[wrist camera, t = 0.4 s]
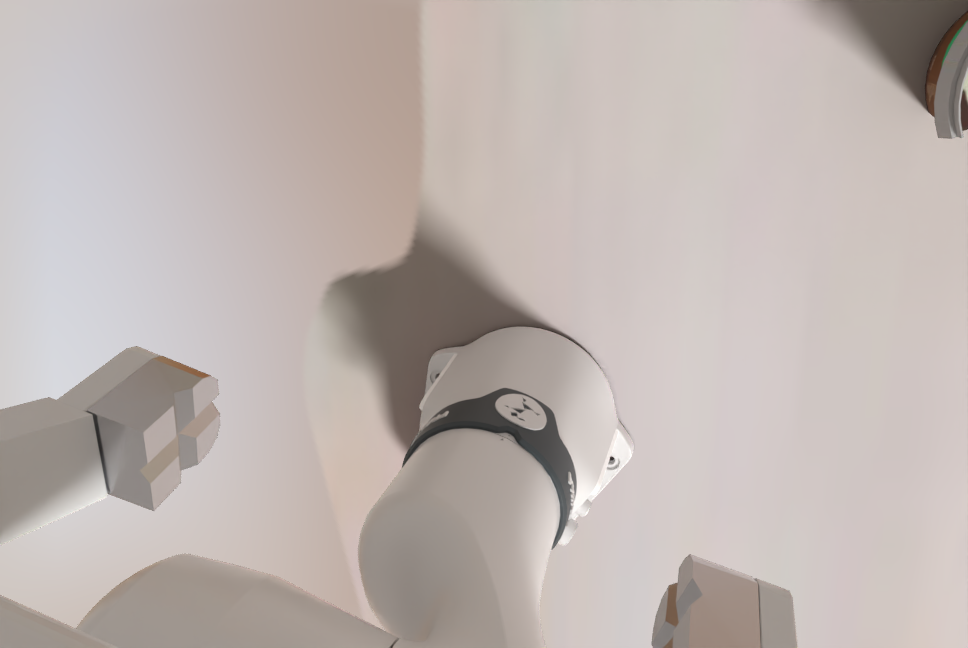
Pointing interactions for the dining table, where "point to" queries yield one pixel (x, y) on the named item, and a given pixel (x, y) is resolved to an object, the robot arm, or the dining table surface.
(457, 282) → the dining table surface
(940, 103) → the food container
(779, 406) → the dining table surface
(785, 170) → the dining table surface
